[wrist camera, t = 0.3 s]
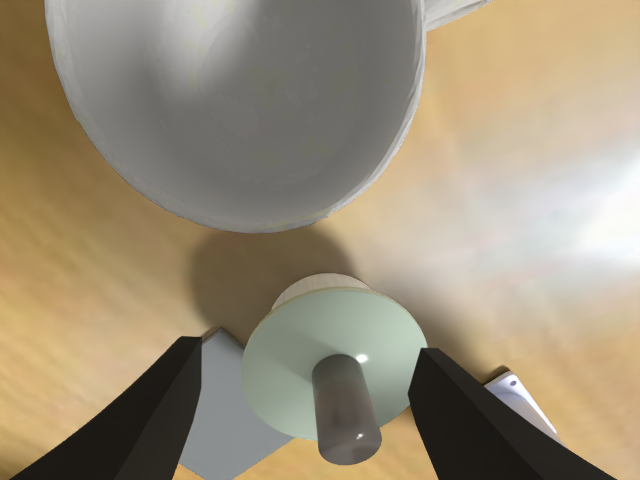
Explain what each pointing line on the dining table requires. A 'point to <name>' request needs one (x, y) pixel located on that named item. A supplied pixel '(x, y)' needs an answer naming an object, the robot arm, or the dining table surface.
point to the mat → (226, 417)
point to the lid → (333, 368)
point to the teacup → (246, 98)
